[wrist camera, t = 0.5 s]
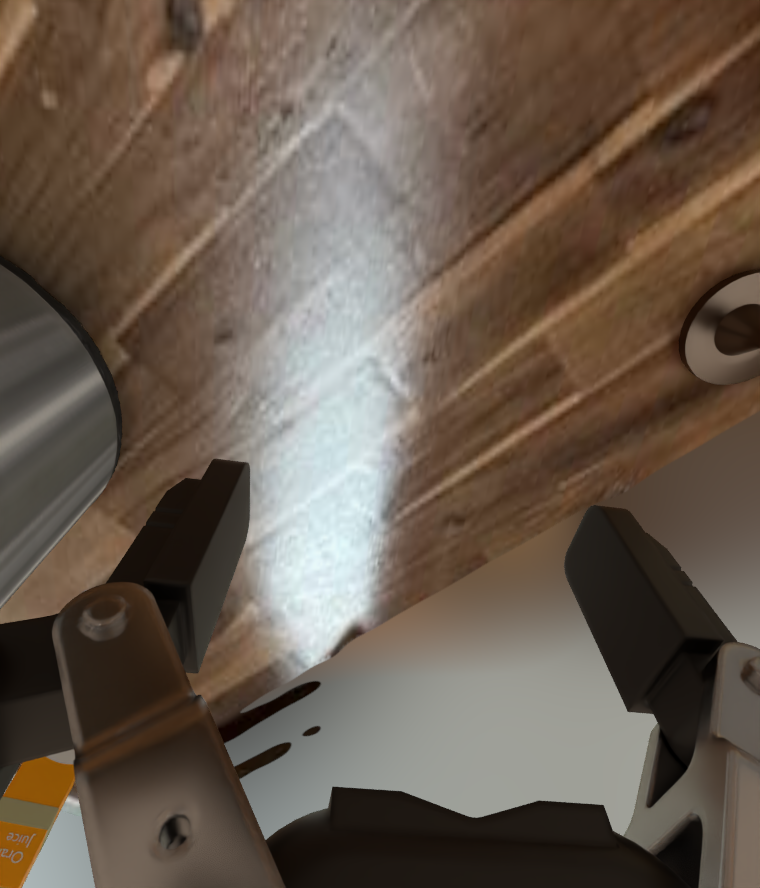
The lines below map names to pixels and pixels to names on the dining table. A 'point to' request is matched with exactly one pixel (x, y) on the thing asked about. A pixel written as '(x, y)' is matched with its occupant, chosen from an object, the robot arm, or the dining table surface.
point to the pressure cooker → (48, 425)
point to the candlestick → (724, 332)
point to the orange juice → (30, 815)
